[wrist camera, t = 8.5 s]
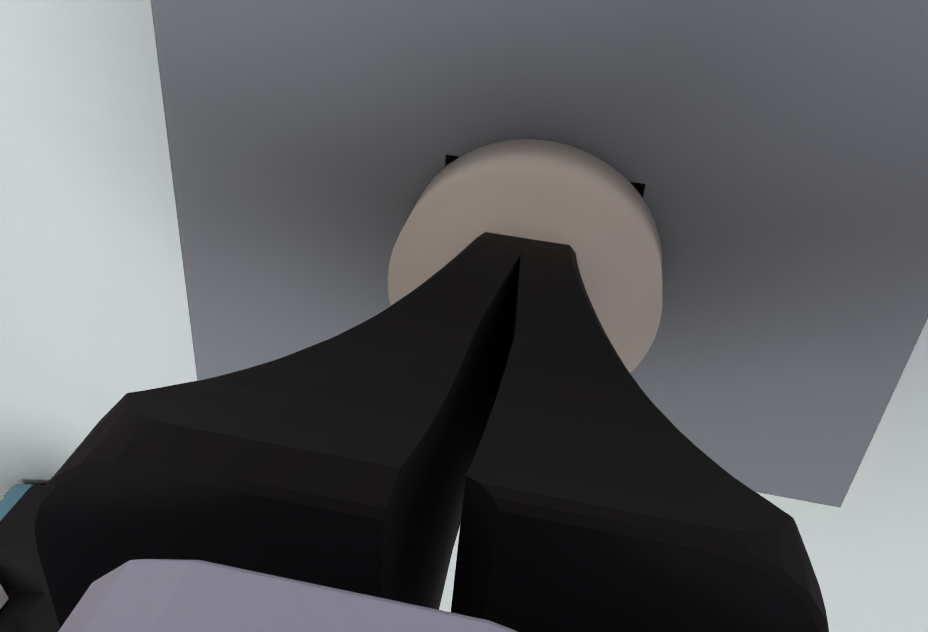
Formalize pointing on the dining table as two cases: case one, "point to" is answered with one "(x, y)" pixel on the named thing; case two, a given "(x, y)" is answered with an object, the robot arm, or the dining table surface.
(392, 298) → the knob
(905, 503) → the dining table surface
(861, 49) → the knob panel
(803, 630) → the robot arm
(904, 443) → the dining table surface
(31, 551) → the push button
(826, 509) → the dining table surface
